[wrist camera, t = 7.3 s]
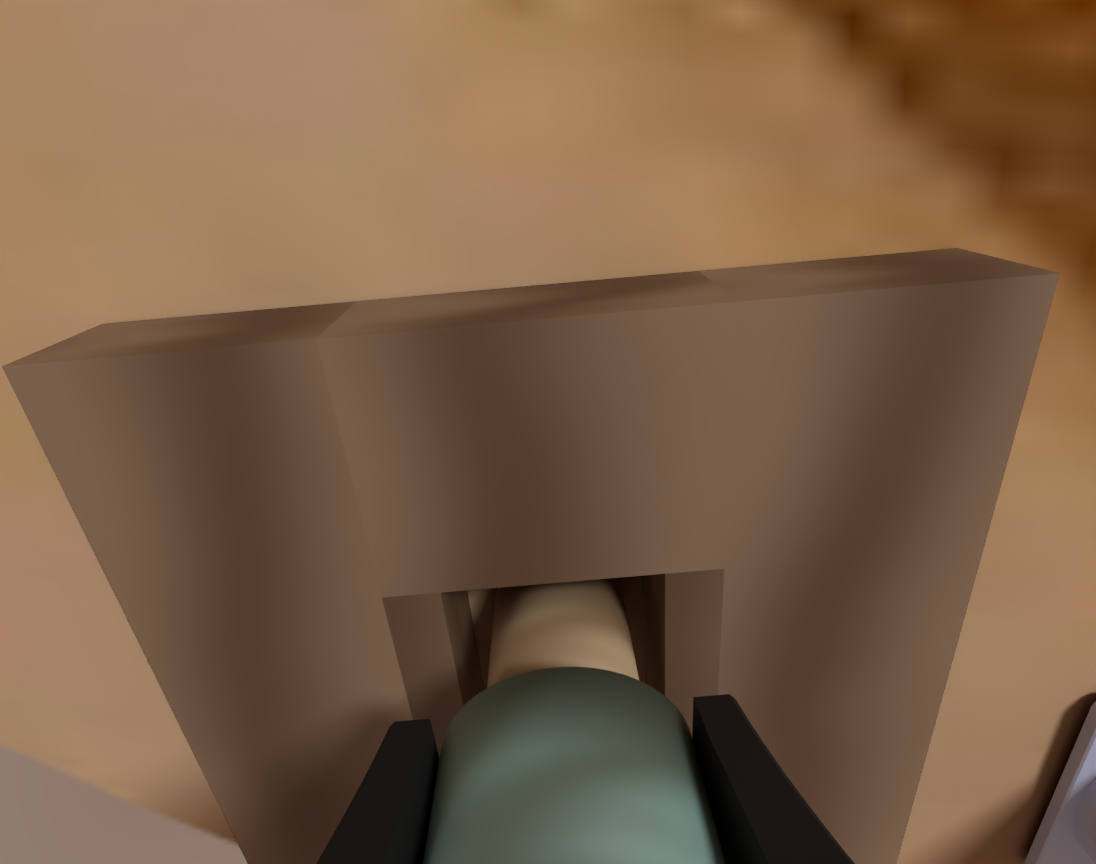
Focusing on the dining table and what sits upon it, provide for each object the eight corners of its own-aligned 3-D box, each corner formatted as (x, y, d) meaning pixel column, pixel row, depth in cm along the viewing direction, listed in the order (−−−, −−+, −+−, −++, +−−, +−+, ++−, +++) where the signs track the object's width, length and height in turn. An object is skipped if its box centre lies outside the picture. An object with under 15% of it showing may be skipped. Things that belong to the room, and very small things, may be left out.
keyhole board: (957, 247, 11) (1060, 273, 9) (823, 913, 21) (857, 1003, 19) (101, 323, 11) (1, 366, 9) (356, 949, 21) (336, 1043, 19)
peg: (650, 516, 13) (757, 855, 7) (654, 665, 15) (740, 1039, 9) (450, 534, 13) (374, 883, 7) (478, 680, 15) (438, 1060, 9)
